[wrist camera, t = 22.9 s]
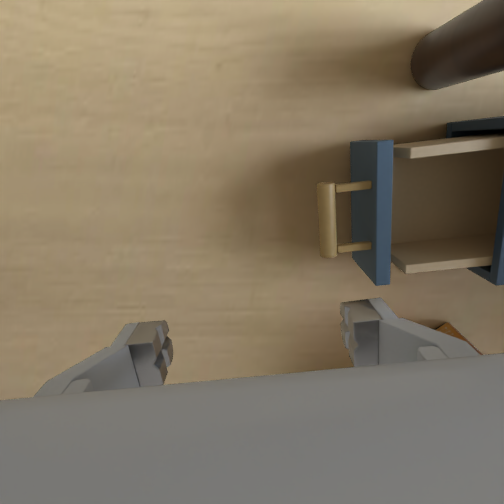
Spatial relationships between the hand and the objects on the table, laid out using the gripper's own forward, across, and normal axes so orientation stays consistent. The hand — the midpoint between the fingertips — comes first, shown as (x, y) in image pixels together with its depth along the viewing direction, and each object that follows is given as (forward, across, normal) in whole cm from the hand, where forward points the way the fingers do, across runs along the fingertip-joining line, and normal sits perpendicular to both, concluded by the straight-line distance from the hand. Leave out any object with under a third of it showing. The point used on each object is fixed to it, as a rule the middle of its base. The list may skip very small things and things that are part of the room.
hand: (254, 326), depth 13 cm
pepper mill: (+21, -18, -12) cm, 30 cm away
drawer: (+20, -15, 0) cm, 25 cm away
